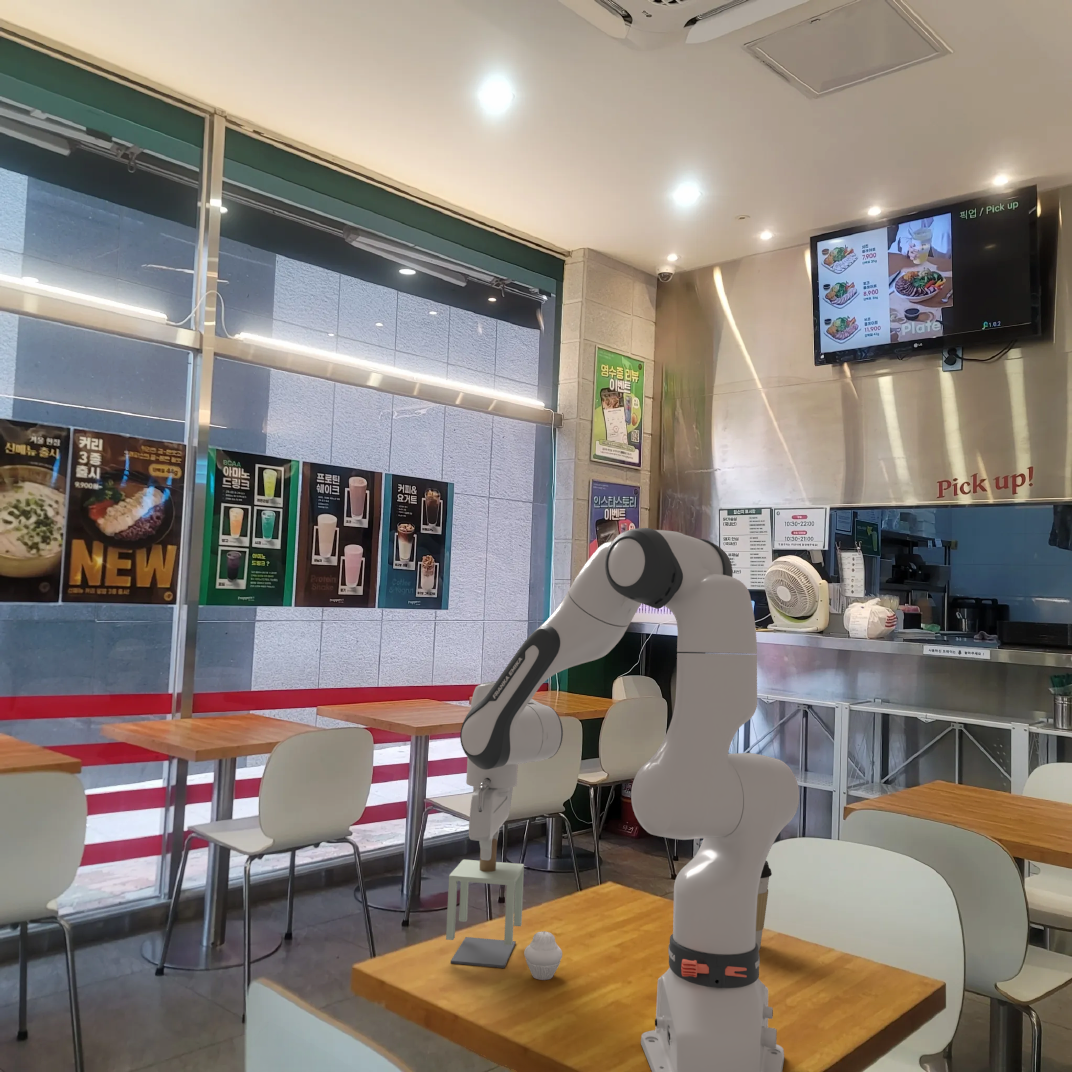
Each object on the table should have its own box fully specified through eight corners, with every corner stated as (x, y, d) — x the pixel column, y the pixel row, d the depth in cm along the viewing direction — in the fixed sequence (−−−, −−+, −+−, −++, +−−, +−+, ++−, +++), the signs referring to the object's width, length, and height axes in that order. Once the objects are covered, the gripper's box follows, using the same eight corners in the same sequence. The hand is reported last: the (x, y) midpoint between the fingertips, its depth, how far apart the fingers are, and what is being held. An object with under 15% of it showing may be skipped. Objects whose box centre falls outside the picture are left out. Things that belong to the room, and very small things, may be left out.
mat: (504, 968, 150) (504, 965, 150) (450, 963, 151) (450, 960, 151) (515, 943, 162) (515, 941, 162) (465, 939, 163) (465, 936, 163)
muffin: (554, 967, 151) (555, 923, 152) (567, 981, 145) (568, 935, 146) (518, 970, 149) (520, 926, 150) (530, 985, 143) (532, 938, 144)
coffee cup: (722, 933, 172) (724, 851, 173) (775, 943, 168) (776, 858, 169) (708, 948, 163) (710, 861, 165) (764, 959, 159) (765, 870, 160)
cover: (511, 945, 151) (515, 849, 152) (446, 939, 152) (450, 844, 154) (521, 924, 162) (525, 835, 163) (460, 919, 163) (464, 830, 165)
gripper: (499, 785, 149) (495, 873, 147) (518, 767, 169) (515, 844, 168) (461, 783, 150) (457, 870, 148) (484, 765, 170) (481, 841, 168)
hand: (488, 856), depth 158 cm, fingers closed on cover, 3 cm apart
